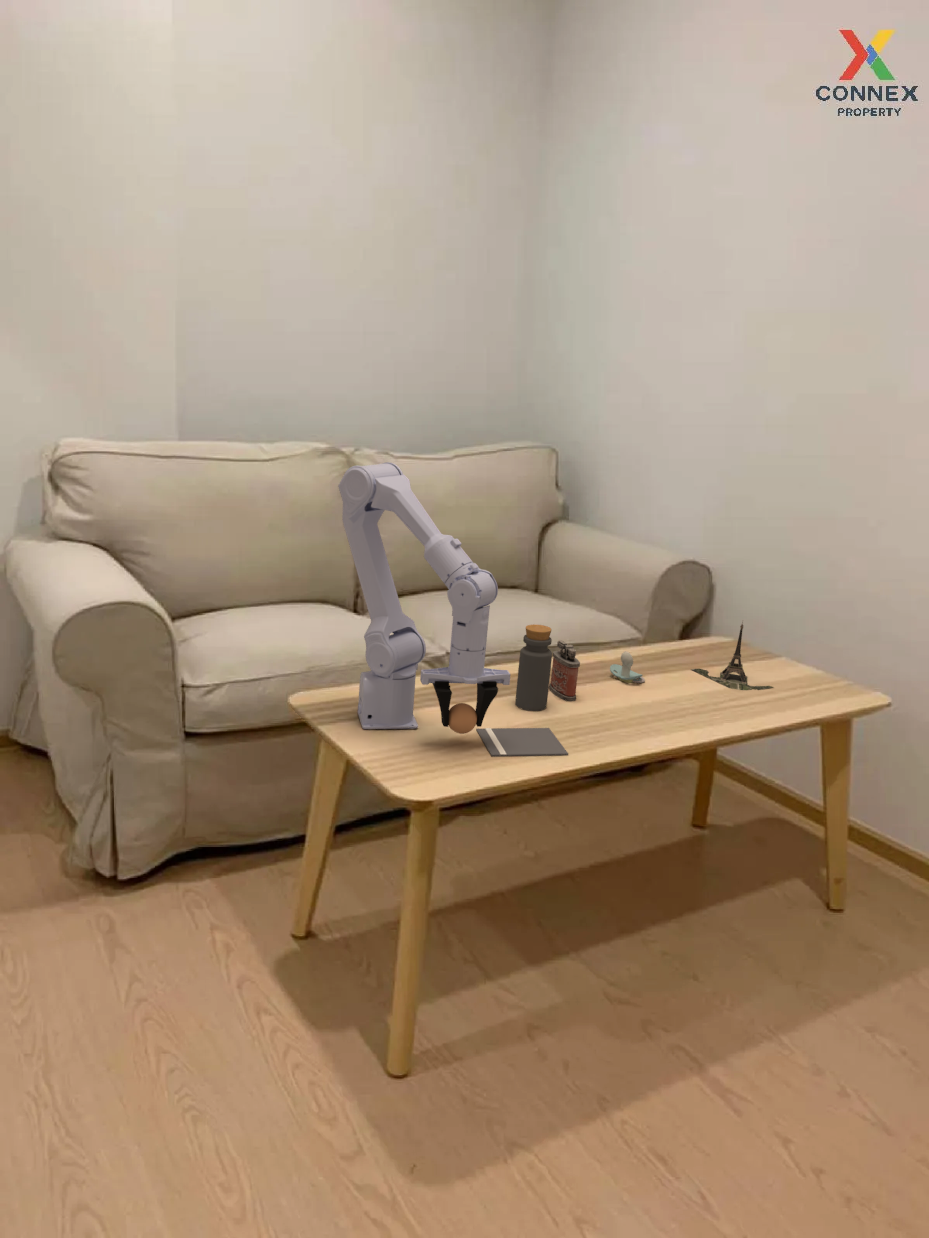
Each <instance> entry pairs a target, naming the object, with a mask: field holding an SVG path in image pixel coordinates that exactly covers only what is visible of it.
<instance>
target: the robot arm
mask: <svg viewBox="0 0 929 1238" xmlns="http://www.w3.org/2000/svg"><path fill="white" fill-rule="evenodd" d="M337 487H338V491H339V494H340V497H341V501H342V515H341V517H342V520H341V521H342V524H343V527H344V528H343V529H344V531H345V534H346V538H347V541H348V545H349V548H350V552H351V556H352V560H353V563H354V566H355V570H356V574H357V577H358V580H359V584H360V588H361V590H362V594H363V597H364V601H365V604H366V609H367V611H368V615H369V618H370V623H369V625H368V627H367V628H366V631H365V633H364V636H363V637H364V638H363V639H364V641H365V661H366V664H367V666H368V668H369V669H370V670H368V671H367V670H366V671H361V673H360V675H359V676H360V677H359V685H358V686H359V687H358V688H359V689H358V690H359V691H358V703H357V704H358V705H357V714H358V715H357V716H358V720H359V721H360V725H361V728H362V729H364V730H376V729H377V730H389V729H390V730H393V729H396V730H398V729H399V730H400V729H403V730H404V729H405V730H406V729H418V728H419V724H418V722H417V720H416V717H415V715H414V708H415V707H414V706H415V705H414V704H415V692H416V690H415V689H416V678H417V676H416V675H417V674H416V673H417V670H418V669H419V663H421V662H422V661H423V660H424V658H425V656H426V652H427V647H426V643H425V639H424V638H423V636H422V635H421V633H420V632H419V631H418V628H417V626H416V623H415V621H414V620H413V619H412V618H411V617H410V616H408V615H406V614H405V613H404V612H403V610H402V606H401V603H400V599H399V596H398V592H397V589H396V585H395V581H394V577H393V575H392V570H391V567H390V564H389V561H388V556H387V553H386V551H385V547H384V543H383V539H382V536H381V533H380V528H379V525H378V524H379V521H380V519H381V518H382V516H383V514H384V512H385V511H388V512H392V513H394V515H396V516H397V518H398V519H399V520H400V521H401V522H402V523H403V524H404V525H405V527H407V529H409V531H410V532H411V533H412V534H413V536H414V537H415V538H416V539H417V540H418V541H419V542H420V543H421V544H422V545H423V546H424V552H423V557H424V560H426V562H427V563H428V564H429V566H430V567H431V569H432V570H433V571H434V572H435V574H436V575H437V576H438V577H439V579H440V580H441V581H442V583H443V584H444V585H445V587H446V588H447V589H448V590H447V592H446V594H447V600H448V602H449V604H450V605H451V610H452V611H451V612H452V613H451V616H452V623H451V636H450V647H449V648H450V650H449V658H448V659H449V660H448V663H449V664H448V666H446V667H438V668H430V669H429V668H426V669H425V668H424V669H420V679H419V680H420V682H421V684H422V685H424V686H425V685H426V686H427V685H428V686H429V684H432V686H433V688H434V691H435V694H436V697H437V701H438V704H439V710H440V718H441V724H442V727H444V728H446V727H449V725H448V724H449V710H450V708H451V706H450V705H451V699H452V695H453V691H452V689H451V685H450V684H465V685H466V684H467V685H476V704H475V711H476V714H477V723H476V725H475V726H477V728H478V727H480V728H481V727H482V725H483V721H484V718H485V716H486V714H487V711H488V710H489V707H490V705H491V704H492V702H493V700H494V699H495V698H496V697H497V695H498V692H499V687H498V686H497V685H498V684H502V685H503V686H510V681H511V672H509V670H508V669H495V668H487V667H485V662H486V661H485V659H486V652H487V651H486V650H487V641H488V640H487V639H488V630H489V629H488V627H489V619H490V618H489V617H490V609H491V608H490V607H491V606H490V604H492V603H494V601H496V598H497V597H498V593H499V592H498V591H499V587H498V583H497V581H496V578H495V577H494V575H493V573H491V572H490V571H489V570H487V569H482V568H480V567H479V565H478V564H477V563H476V562H474V561H473V560H472V559H471V558H470V556H469V555H468V554H467V553H466V552H465V550H464V549H463V547H461V546H462V545H463V544H462V542H461V541H460V540H459V538H454V536H453V535H451V534H443V533H442V532H441V531H440V530H439V528H438V527H437V525H436V524H435V522H434V520H432V518H431V516H430V515H429V513H428V512H427V511H426V509H425V507H424V506H423V504H422V503H421V502H420V501H419V499H418V497H417V496H416V494H415V493H414V492H413V490H412V487H411V480H410V479H409V478H408V477H407V475H405V474H404V472H403V471H402V469H401V468H400V466H399V465H397V464H396V463H394V462H390V461H387V462H382V463H378V464H376V463H375V464H369V465H368V464H367V465H353V466H350V467H349V468H348V469H347V470H345V472H344V474H343V476H342V478H341V480H340V482H339V484H338V486H337Z"/></svg>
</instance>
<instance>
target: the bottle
mask: <svg viewBox="0 0 929 1238" xmlns="http://www.w3.org/2000/svg"><path fill="white" fill-rule="evenodd" d="M525 633H526V634H524V635H523V640H522V641H523V643H524V644H525V646H523V647H522V648H520V651H519V659H518V660H519V661H518V667H517V668H518V670H517V681H516V689H515V690H516V691H515V701H514V702H515V707H518V709H521V710H524V711H530V712H538V711H544V710H545V709H546V708H547V706H548V705H547V704H548V698H549V696H548V695H549V690H550V689H549V684H550V681H551V671H552V662H553V651H552V650H551V649H549V647H550V646H551V644H552V641H553V640H552V637H550V636H551V633H552V628H551V627H549V626H547V625H544V624H543V625H542V624H535V623H534V624H527V625H526V626H525Z"/></svg>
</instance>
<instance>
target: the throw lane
mask: <svg viewBox="0 0 929 1238" xmlns="http://www.w3.org/2000/svg"><path fill="white" fill-rule="evenodd" d="M475 731H476V732H477V734H478V736H479V737H480V739H481V741H482V743H483V744H484V746H485V748H486V750H487V751H488V753H489V755H490V756H491V757H537V756H538V757H542V756H543V757H544V756H545V757H546V756H548V757H549V756H551V757H552V756H569V752H568V751H567V749H566V748H565V747H564V746H563V744H562V742H560V740H559V739H558V738H557V736H556V735H555V734H554V732H553V731H552V730H551V728H550V727H517V728H516V727H511V728H510V727H504V728H503V727H502V728H501V727H500V728H499V727H498V728H497V727H495V728H491V727H486V728H485V727H484V728H476V730H475Z"/></svg>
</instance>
